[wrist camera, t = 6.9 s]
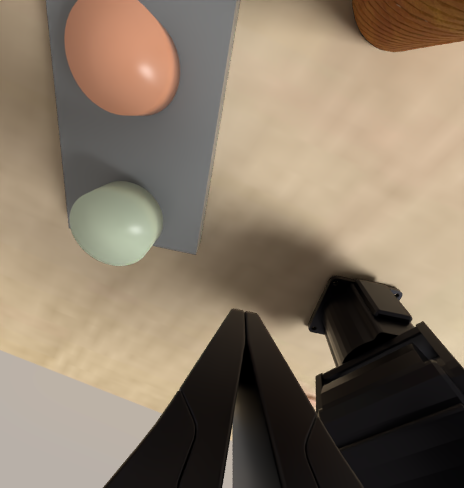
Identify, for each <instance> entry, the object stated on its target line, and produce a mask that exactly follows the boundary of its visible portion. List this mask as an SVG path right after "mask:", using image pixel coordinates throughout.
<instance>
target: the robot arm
mask: <svg viewBox="0 0 464 488" xmlns="http://www.w3.org/2000/svg"><path fill="white" fill-rule="evenodd" d="M334 281H337V282H336V283H333V282H334ZM396 293H397V294H396ZM394 294H396V295H394ZM401 297H402V293H401V291H400V290H399V289H397V288H392V287H387V286H386V285H385V284H380V283H375V282H371V281H366V280H361V279H358V280H354V279H349V278H344V277H340V276H332V277H331V278H330V279H329V281H328V283H327V285H326V287H325V290H324V292H323V294H322V296H321V298H320V300H319V302H318V305H317V307H316V309H315V311H314V313H313V315H312V317H311V320H310V322H309V324H308V328H309V331H310V332H314V333H319V334H324V335H325V336H326V339H327V342H328V345H329V348H330V351H331V354H332V356H333V359H334V362H335V365H336V368H334V369H332V370H330V371H328V372H326V373H324V374H323V373H321V374H319V375H317V376H316V411H315V410H314V408H313V406H312V405H311V403H310V401H309V400H308V398H307V396H306V394H305V393H304V391H303V389H302V388H301V386H300V384H299V383H298V381H297V379H296V378H295V376H294V374H293V373H292V371H291V369H290V367H289V366H288V364H287V362H286V361H285V359H284V357H283V356H282V354H281V352H280V351H279V349H278V347H277V346H276V344H275V342H274V340H273V339H272V337H271V335H270V334H269V332H268V330H267V329H266V327H265V325H264V324H263V322H262V320H261V318H260V317H259V315H258V314H257V313H253V312H248V311H246V312H245V313H244V311H243V310H238V309H231V311H230V312H229V314H228V315H227V317H226V318H225V320H224V321H223V323H222V324H221V326H220V327H219V329H218V331H217V332H216V334H215V335H214V337H213V338H212V340H211V341H210V343H209V344H208V346H207V347H206V349H205V350H204V352H203V353H202V355H201V357H200V358H199V360H198V361H197V363H196V364H195V366H194V367H193V369H192V370H191V372H190V373H189V375H188V376H187V378H186V379H185V381H184V383H183V384H182V386H181V387H180V389H179V391H177V393H176V394H175V396H174V397H173V399H172V400H171V402H170V404H169V405H168V406H167V408H166V409H165V411H164V412H163V414H162V415H161V416H160V418H159V419H158V421H157V422H156V424H155V425H154V426H153V427H152V429H151V430H150V431H149V432H148V434H147V435H146V436H145V438H144V439H143V440H142V441H141V443H140V444H139V445H138V446H137V448H136V449H135V450H134V451H133V452H132V454H131V455H130V456H129V457H128V458H127V460H126V461H125V462H124V463H123V464H122V465H121V467H120V468H119V469H118V470H117V472H116V473H115V474H114V475H113V476H112V478H111V479H110V480H109V481H108V482H107V484H106V485H105V486H104V487H103V488H222V485H223V479H224V473H225V466H226V460H227V454H228V448H229V442H230V436H231V429H232V423H233V488H464V368H463V367H462V366H461V365H460V364H459V362H458V361H457V360H456V359H455V358H454V357H453V355H452V354H451V353H450V352H449V351H448V350H447V348H446V347H445V346H444V345H443V344H442V343H441V341H440V340H439V339H438V338H437V337H436V336H435V334H434V333H433V332H432V331H431V330H430V329H429V327H428V326H427V325H426V324H425V323H424V322H423V321H422V322H421V323H419V324H417V325H416V327H414V326H413V325H412V324H411V321H412V317H411V315H410V314H409V312H408V311H407V310H406V309H405V308H404V306H403V305H402V304H401V303H400V301H399V300H400V299H401Z"/></svg>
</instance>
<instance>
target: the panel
mask: <svg viewBox="0 0 464 488" xmlns="http://www.w3.org/2000/svg"><path fill="white" fill-rule="evenodd" d="M77 1H78V0H46V7H47V17H48V27H49V37H50V47H51V56H52V66H53V76H54V86H55V96H56V105H57V115H58V125H59V135H60V145H61V155H62V164H63V174H64V184H65V194H66V204H67V214H68V223H69V228H70V212H71V208H72V206H73V204H74V203H75V202H76V200H77V199H79V198H80V197H81V196H83V195H84V194H86V193H89V192H91V191H93V190H95V189H97V188H99V187H102V186H104V185H106V184H108V183H111V182H115V181H126V182H131V183H134V184H136V185H139V186H140V187H142V188H144V189H145V190H147V191H148V192H149V193H150V194H151V195H152V196H153V197H154V198H155V200H156V201H157V203H158V204H159V206H160V209H161V211H162V215H163V228H162V232H161V234H160V236H159V237H158V239H157V240H156V241H155V243H154V244H153V245H152V246H156V247H161V248H166V249H170V250H175V251H180V252H185V253H190V254H194V255H196V253H197V251H198V248H199V245H200V242H201V236H202V230H203V224H204V218H205V212H206V206H207V200H208V194H209V188H210V182H211V176H212V169H213V163H214V157H215V151H216V145H217V139H218V133H219V127H220V121H221V115H222V109H223V103H224V97H225V91H226V85H227V79H228V73H229V67H230V61H231V54H232V48H233V42H234V36H235V30H236V24H237V18H238V12H239V6H240V0H138V1H139V2H140V3H141V4H143V5H144V6H145V7H146V8H147V10H148V11H149V12H150V13H151V14H152V15H153V16H154V17H155V18H156V19H157V20H158V21H159V22H160V23H161V24H162V26H163V27H164V28H165V29H166V30H167V32H168V33H169V35H170V36H171V38H172V40H173V42H174V44H175V47H176V49H177V53H178V56H179V62H180V81H179V86H178V89H177V92H176V94H175V96H174V98H173V100H172V101H171V102H170V104H169V105H168V106H167V107H166V108H165V109H163V110H162V111H160V112H158V113H156V114H153V115H148V116H125V115H117V114H113V113H110V112H108V111H106V110H104V109H102V108H100V107H99V106H97V105H96V104H95V103H93V102H92V101H91V100H90V99H89V98H88V97H87V96H86V95H85V93H84V92H83V91H82V90H81V88H80V87H79V86H78V84H77V82H76V80H75V79H74V77H73V75H72V72H71V70H70V67H69V64H68V61H67V57H66V52H65V40H64V36H65V27H66V22H67V19H68V16H69V13H70V11H71V9H72V7H73V6H74V5H75V3H76V2H77ZM70 229H71V228H70Z"/></svg>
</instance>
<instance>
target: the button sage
mask: <svg viewBox="0 0 464 488" xmlns="http://www.w3.org/2000/svg"><path fill="white" fill-rule="evenodd" d="M70 228H71V231H72V234H73V236H74V238H75V240H76V241H77V243H78V244H79V245H80V247H81V248H82V249H83V250H84V251H85V252H86V253H87V254H89V255H90V256H91V257H93V258H95V259H96V260H98V261H100V262H103V263H105V264H109V265H114V266H126V265H131V264H134V263H136V262H138V261H139V260H140V259H142V258H143V257H144V256H145V254H146V253H147V252H148V250H149V249H150V248H151V247H152V245H153V244H154V243H155V241H156V240H157V239H158V237H159V236H160V234H161V232H162V228H163V215H162V211H161V209H160V206H159V204H158V203H157V201H156V200H155V198H154V197H153V196H152V195H151V194H150V193H149V192H148V191H147V190H145V189H144V188H142V187H140V186H139V185H136V184H134V183H131V182H126V181H115V182H111V183H108V184H106V185H104V186H102V187H99V188H97V189H95V190H93V191H91V192H89V193H86V194H84V195H83V196H81V197H80V198H79V199H77V200H76V202H75V203H74V204H73V206H72V208H71V212H70Z"/></svg>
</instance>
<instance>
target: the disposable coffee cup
mask: <svg viewBox="0 0 464 488" xmlns="http://www.w3.org/2000/svg"><path fill="white" fill-rule="evenodd" d="M352 6H353V11H354V16H355V20H356V23H357V25H358V28H359V30H360V31H361V33H362V34H363V36H364V37H365V39H366V40H368V41H369V42H370V43H371V44H373V45H374V46H375V47H377V48H379V49H382V50H385V51H391V52H400V51H407V50H412V49H418V48H424V47H429V46H435V45H442V44H448V43H453V42H460V41H464V0H352Z"/></svg>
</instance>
